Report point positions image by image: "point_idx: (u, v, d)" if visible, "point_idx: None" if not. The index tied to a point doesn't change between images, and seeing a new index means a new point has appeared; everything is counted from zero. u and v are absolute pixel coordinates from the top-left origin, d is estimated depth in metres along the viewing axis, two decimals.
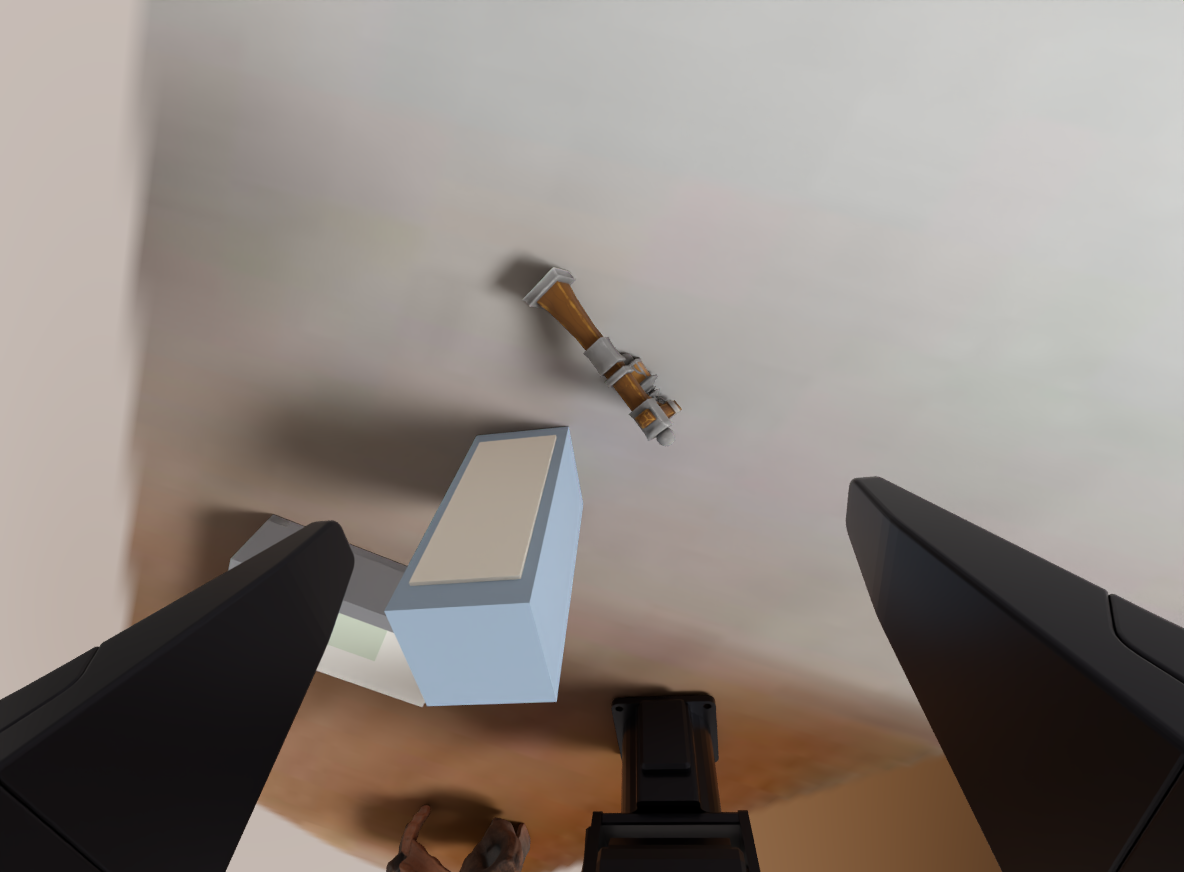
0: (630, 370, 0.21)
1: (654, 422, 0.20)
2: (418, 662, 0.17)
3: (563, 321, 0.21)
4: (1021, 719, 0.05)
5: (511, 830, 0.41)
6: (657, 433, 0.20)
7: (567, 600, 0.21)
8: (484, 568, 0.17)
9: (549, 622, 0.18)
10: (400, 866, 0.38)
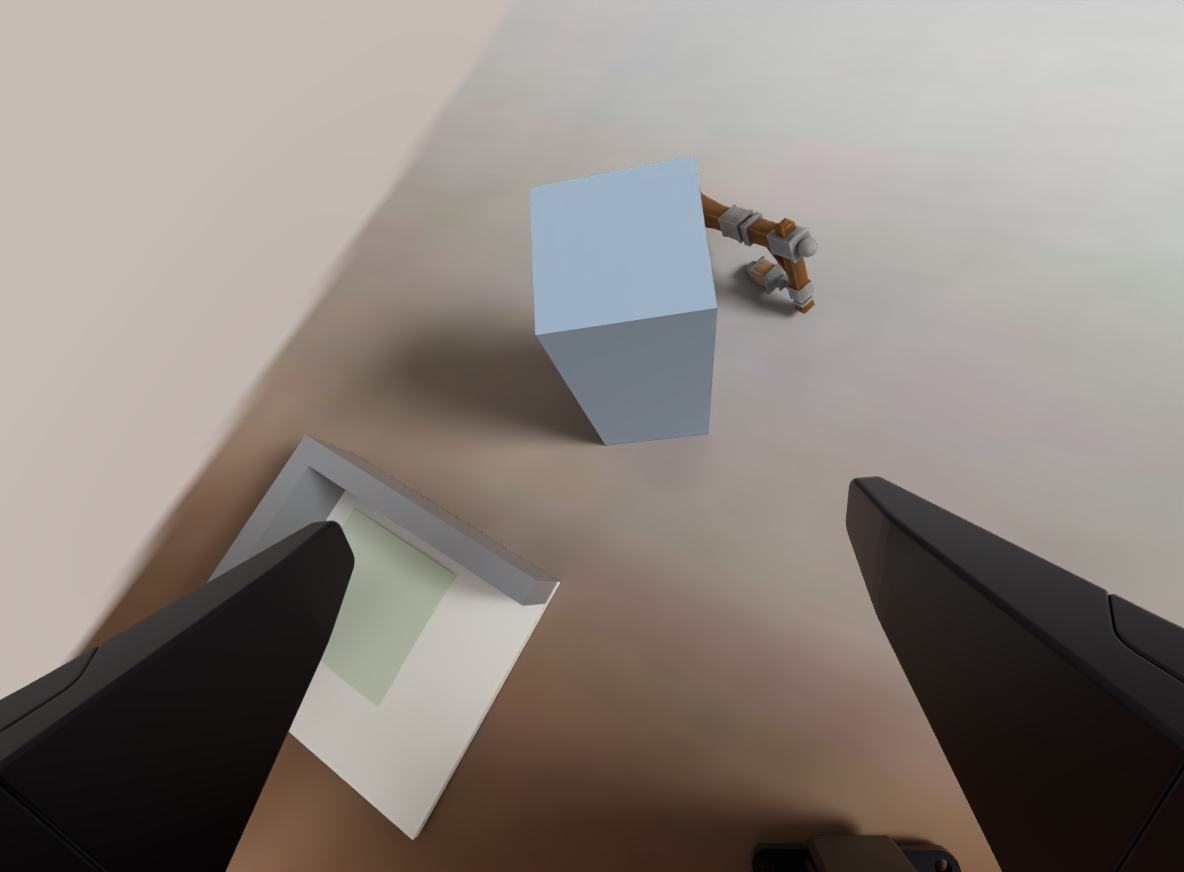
0: None
1: (794, 228, 0.20)
2: (546, 257, 0.14)
3: None
4: (1021, 719, 0.05)
5: None
6: (798, 236, 0.20)
7: None
8: None
9: None
10: None
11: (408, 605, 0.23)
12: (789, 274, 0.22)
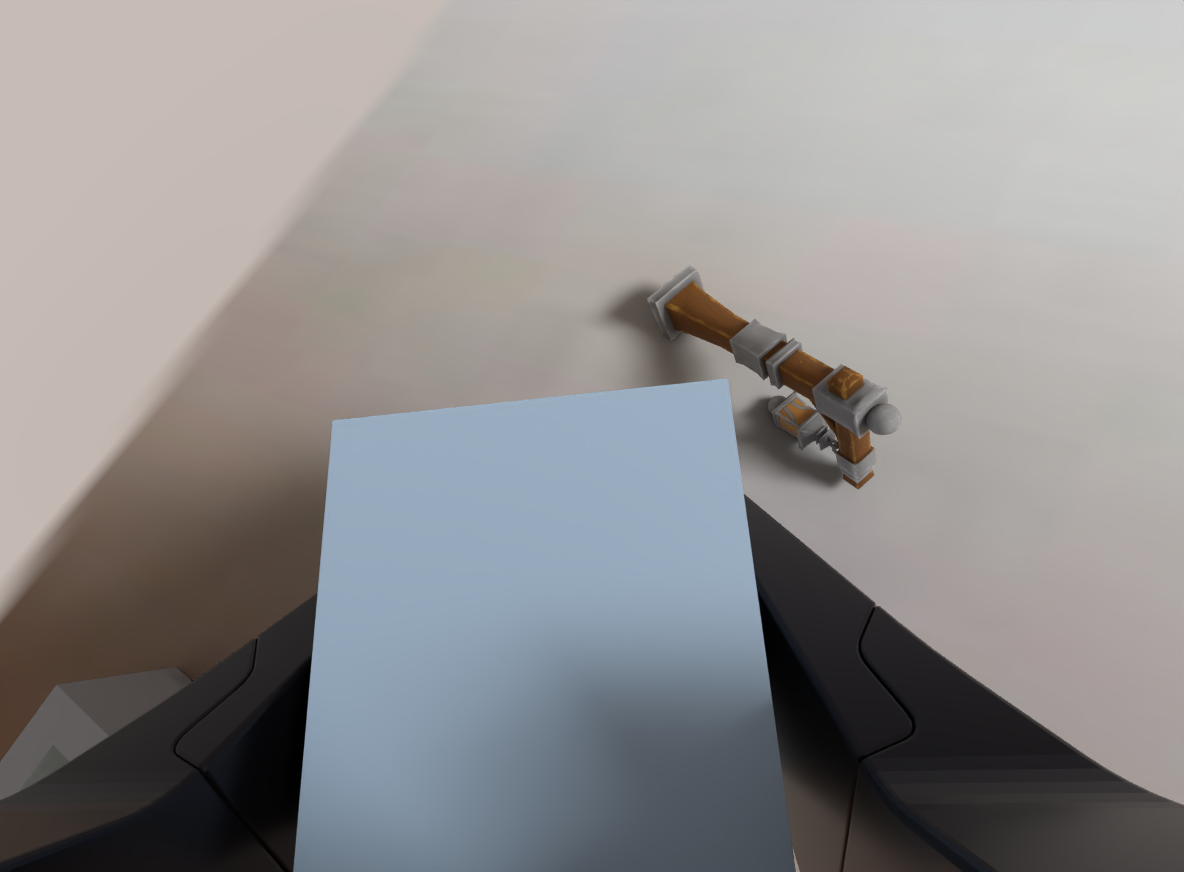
0: None
1: (862, 386, 0.12)
2: (347, 630, 0.06)
3: (700, 316, 0.16)
4: (792, 725, 0.06)
5: None
6: (870, 403, 0.12)
7: None
8: None
9: None
10: None
11: None
12: (842, 441, 0.14)
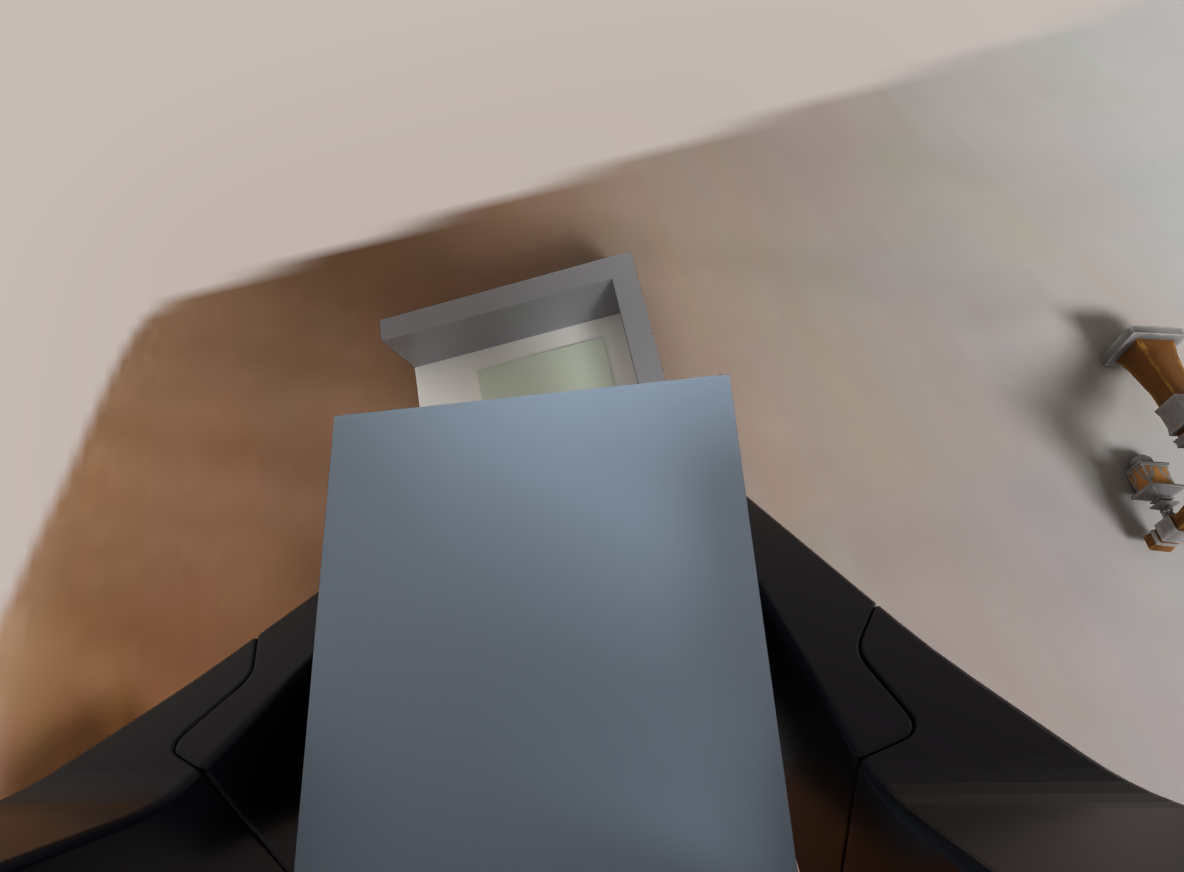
0: None
1: None
2: (348, 624, 0.06)
3: (1160, 365, 0.20)
4: (792, 725, 0.06)
5: None
6: None
7: None
8: None
9: None
10: None
11: None
12: None
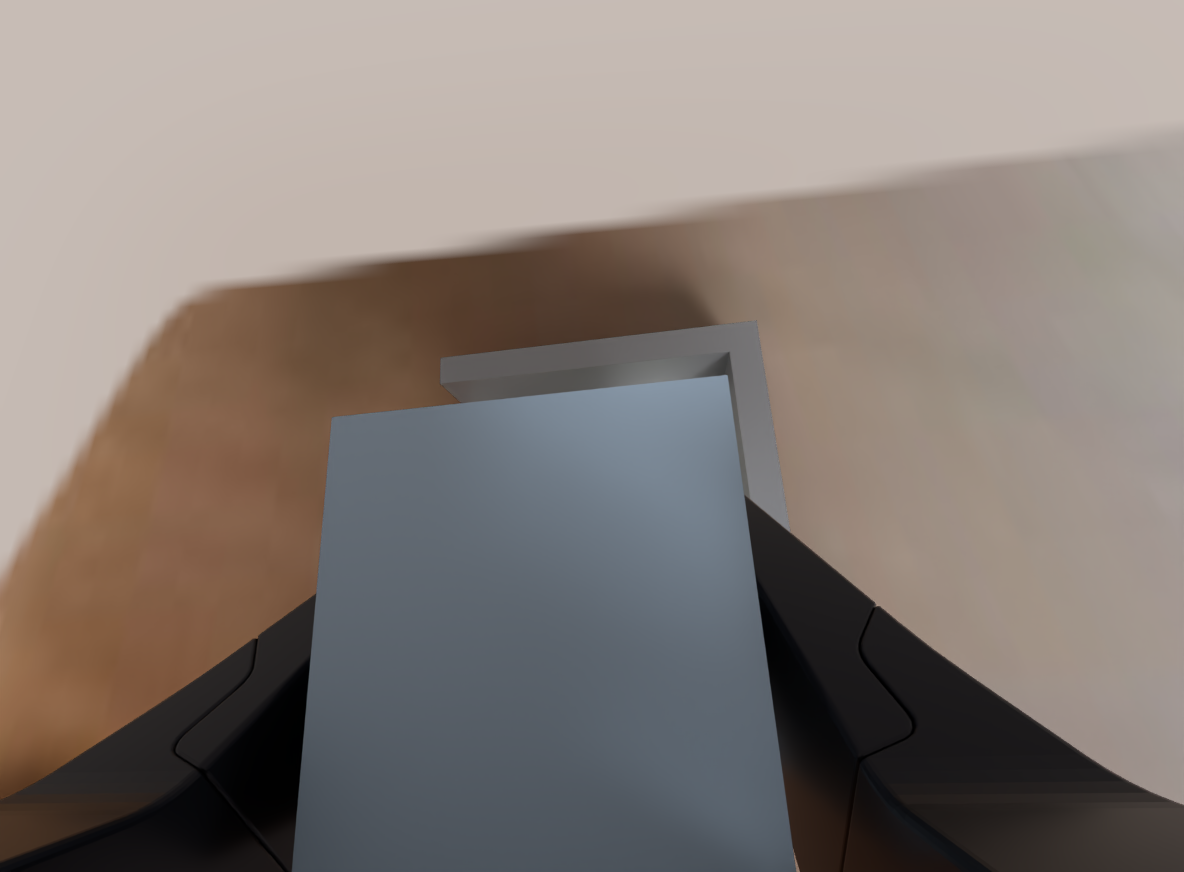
0: None
1: None
2: (346, 626, 0.06)
3: None
4: (792, 725, 0.06)
5: None
6: None
7: None
8: None
9: None
10: None
11: None
12: None
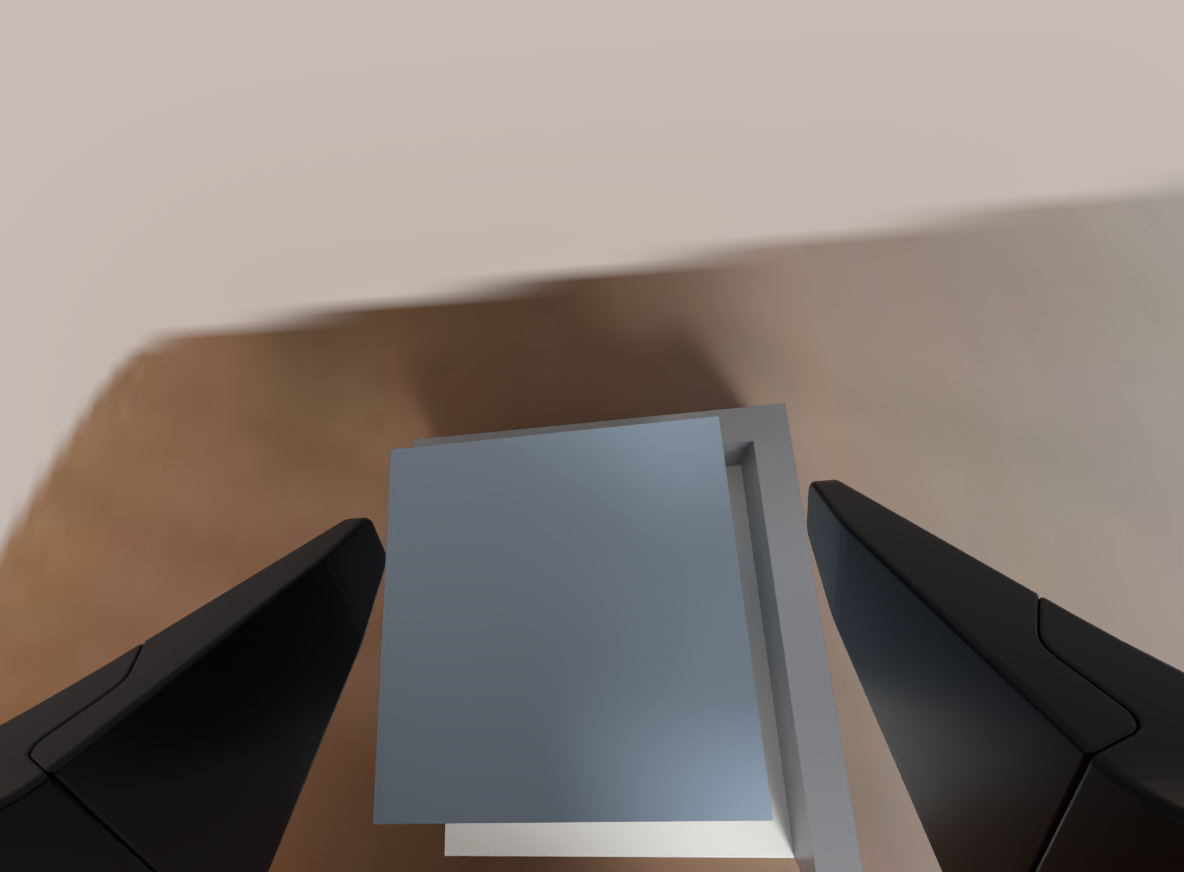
0: None
1: None
2: (410, 623, 0.07)
3: None
4: (953, 721, 0.05)
5: None
6: None
7: None
8: None
9: None
10: None
11: None
12: None
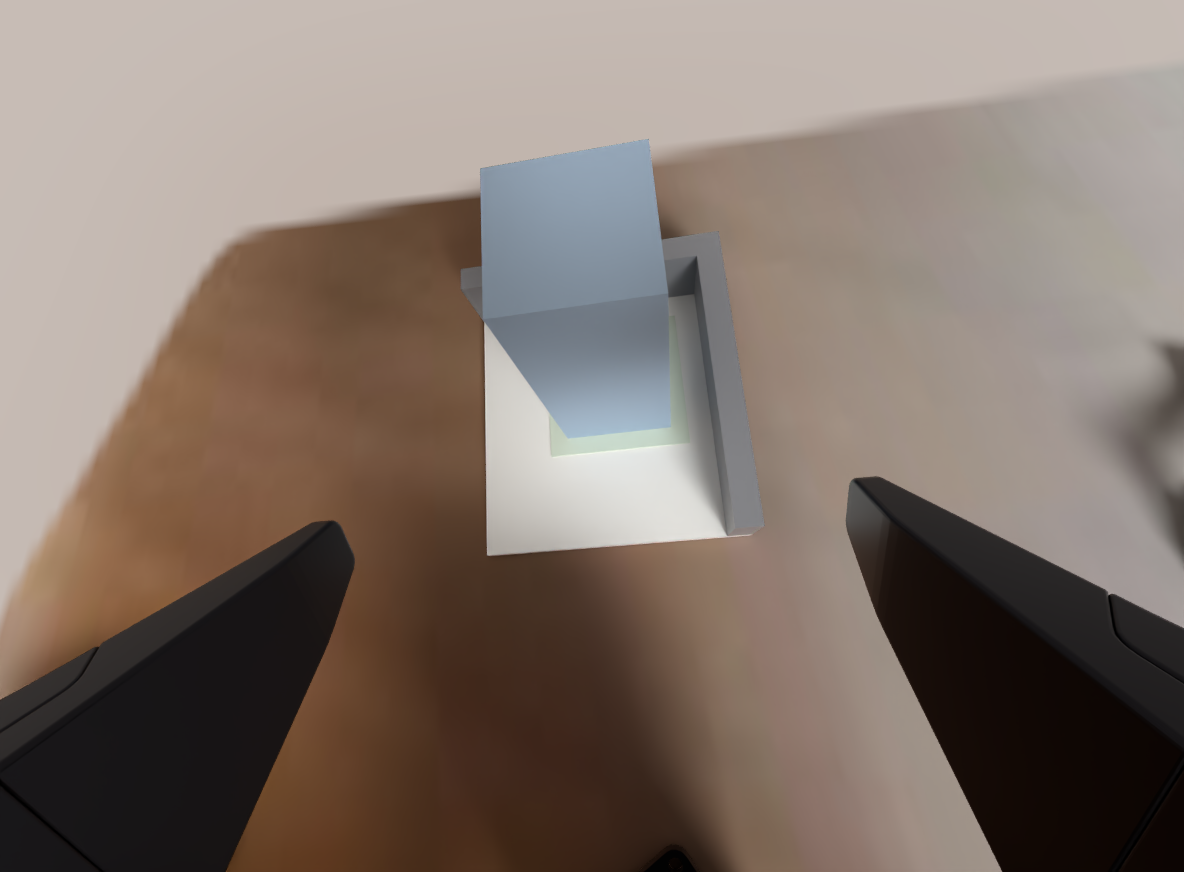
0: None
1: None
2: (495, 240, 0.14)
3: None
4: (1021, 719, 0.05)
5: None
6: None
7: None
8: None
9: None
10: None
11: None
12: None
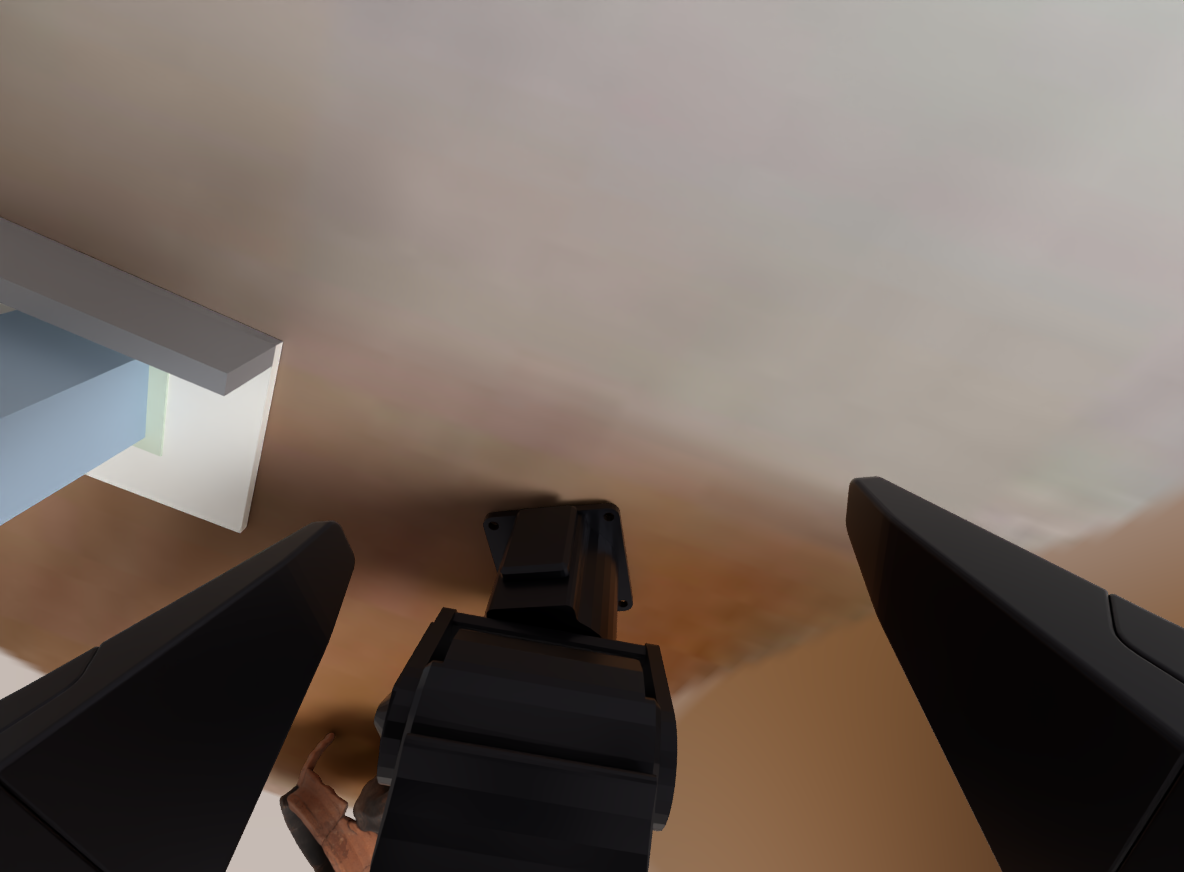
0: None
1: None
2: None
3: None
4: (1021, 719, 0.05)
5: None
6: None
7: None
8: None
9: None
10: (288, 798, 0.32)
11: None
12: None
